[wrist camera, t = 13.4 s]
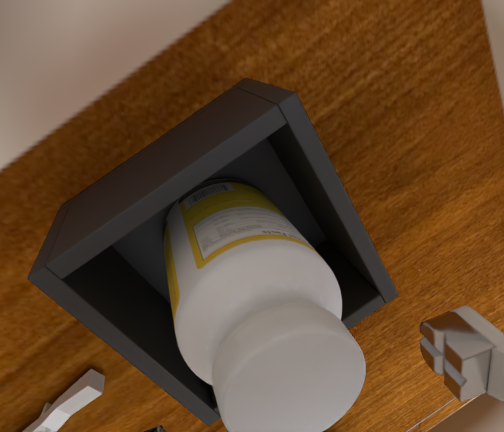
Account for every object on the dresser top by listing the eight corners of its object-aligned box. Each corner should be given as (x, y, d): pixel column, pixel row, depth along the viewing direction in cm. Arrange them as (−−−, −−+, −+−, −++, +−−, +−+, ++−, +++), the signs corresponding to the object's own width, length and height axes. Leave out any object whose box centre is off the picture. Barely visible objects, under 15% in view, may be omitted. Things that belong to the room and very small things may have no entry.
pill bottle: (208, 296, 23) (266, 495, 13) (135, 224, 20) (135, 411, 10) (293, 232, 23) (421, 383, 13) (233, 149, 20) (337, 260, 10)
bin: (246, 76, 19) (296, 91, 13) (336, 235, 25) (399, 295, 19) (59, 206, 19) (26, 278, 13) (191, 335, 25) (208, 427, 19)
